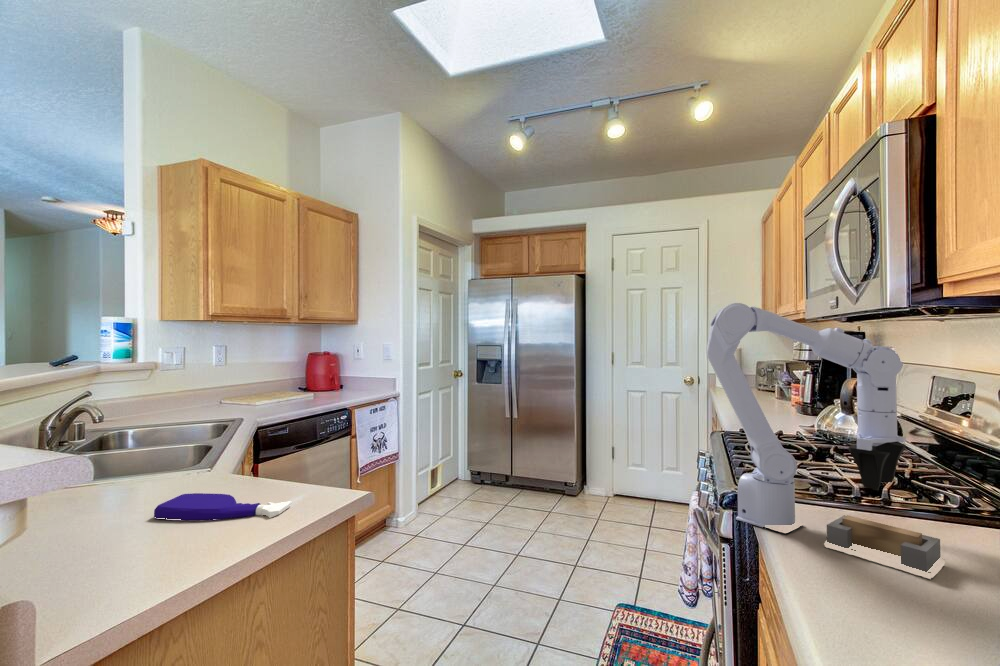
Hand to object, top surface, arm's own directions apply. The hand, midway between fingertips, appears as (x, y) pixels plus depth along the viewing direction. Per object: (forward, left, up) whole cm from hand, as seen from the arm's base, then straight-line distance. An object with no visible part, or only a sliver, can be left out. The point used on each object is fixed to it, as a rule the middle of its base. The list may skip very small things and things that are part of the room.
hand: (878, 484), depth 86 cm
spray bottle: (-84, -97, -10) cm, 128 cm away
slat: (+3, -10, -8) cm, 13 cm away
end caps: (+3, -10, -9) cm, 14 cm away
